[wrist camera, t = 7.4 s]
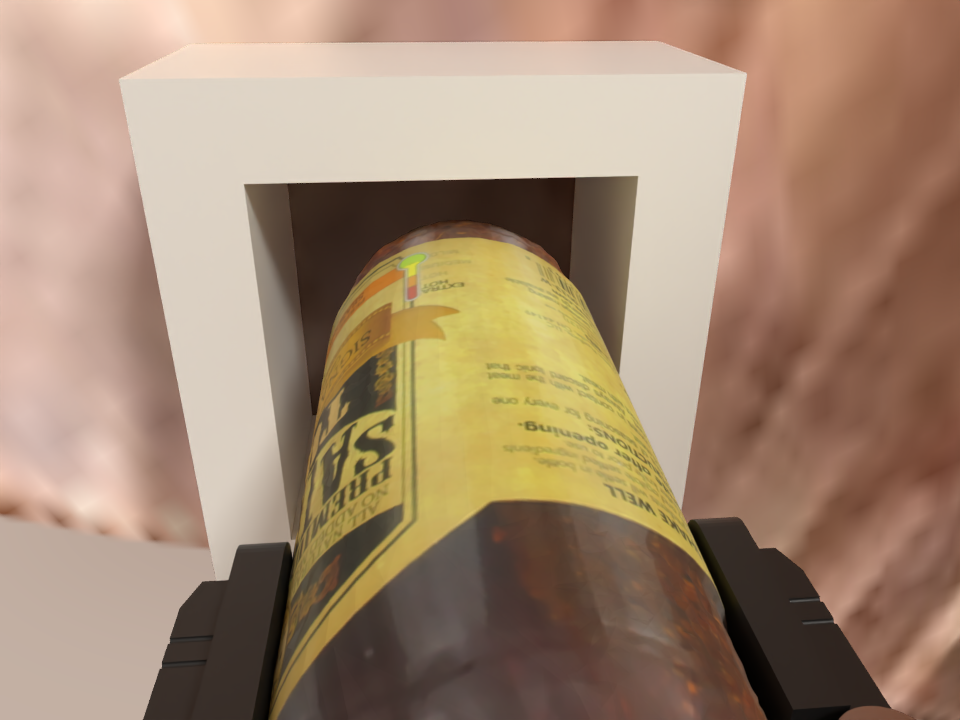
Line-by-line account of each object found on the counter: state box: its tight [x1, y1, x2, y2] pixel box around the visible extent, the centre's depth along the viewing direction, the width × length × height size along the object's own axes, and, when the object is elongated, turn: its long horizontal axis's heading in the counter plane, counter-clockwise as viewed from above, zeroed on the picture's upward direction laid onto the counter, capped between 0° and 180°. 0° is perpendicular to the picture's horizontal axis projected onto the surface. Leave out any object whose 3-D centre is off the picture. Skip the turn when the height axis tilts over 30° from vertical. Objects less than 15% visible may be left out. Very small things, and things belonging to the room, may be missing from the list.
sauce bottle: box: [268, 220, 767, 720], centre depth 11 cm, size 6×6×20 cm
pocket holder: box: [119, 41, 747, 581], centre depth 21 cm, size 12×13×6 cm
